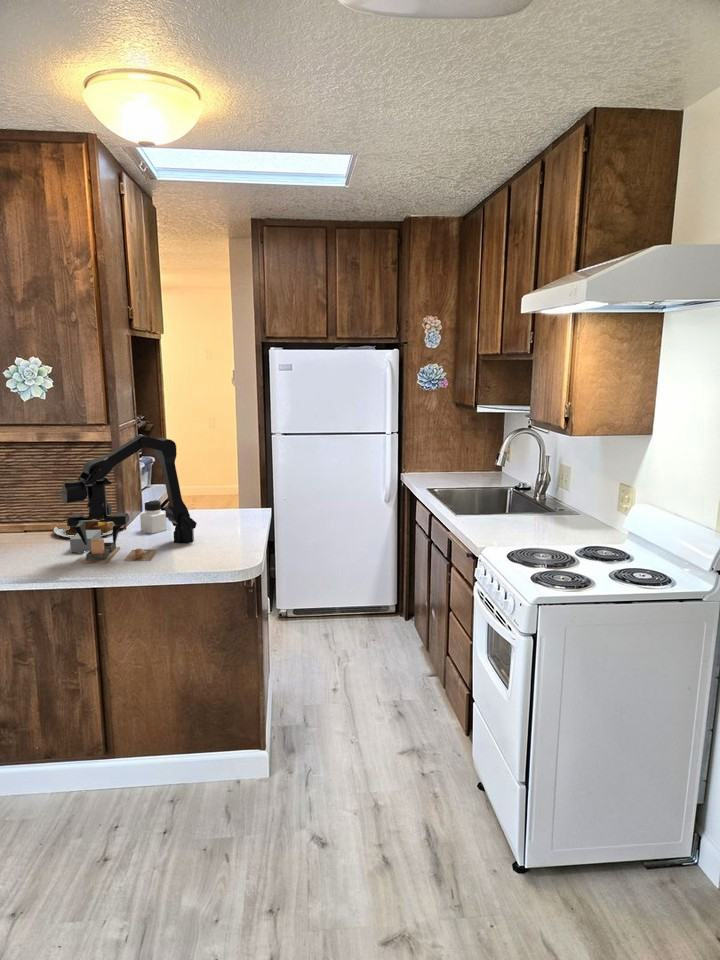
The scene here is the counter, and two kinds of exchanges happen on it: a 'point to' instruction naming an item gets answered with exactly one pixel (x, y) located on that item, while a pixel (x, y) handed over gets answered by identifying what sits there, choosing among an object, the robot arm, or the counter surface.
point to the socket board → (102, 558)
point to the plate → (145, 556)
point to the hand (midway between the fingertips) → (100, 544)
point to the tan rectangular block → (97, 546)
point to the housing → (79, 545)
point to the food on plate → (88, 526)
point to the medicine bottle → (153, 518)
